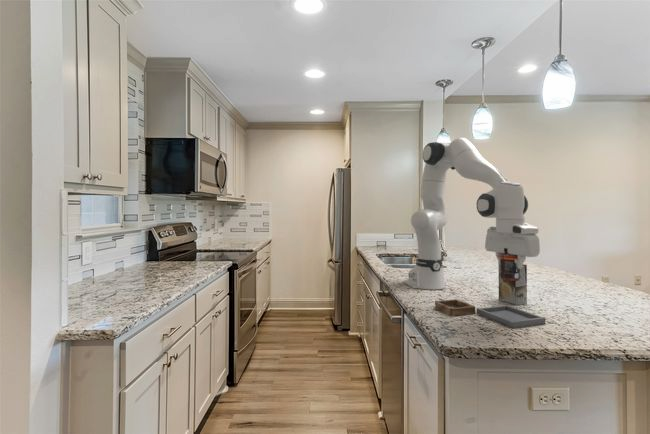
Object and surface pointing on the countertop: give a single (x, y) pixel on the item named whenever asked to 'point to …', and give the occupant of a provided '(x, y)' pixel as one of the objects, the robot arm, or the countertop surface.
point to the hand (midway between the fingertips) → (510, 266)
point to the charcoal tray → (511, 316)
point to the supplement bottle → (509, 267)
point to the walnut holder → (461, 310)
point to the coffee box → (514, 288)
